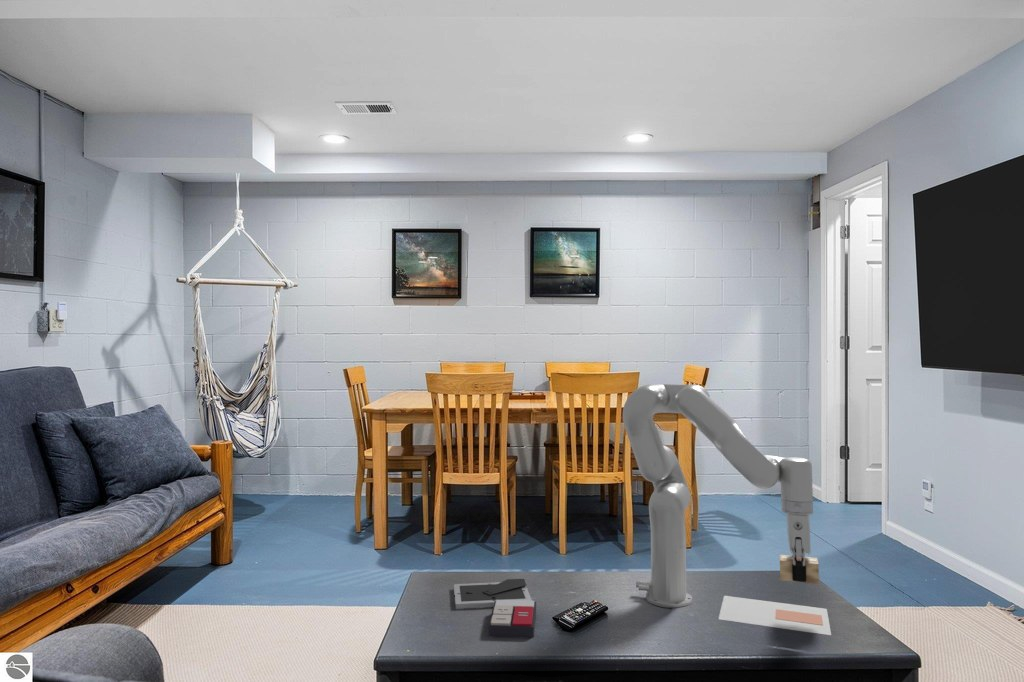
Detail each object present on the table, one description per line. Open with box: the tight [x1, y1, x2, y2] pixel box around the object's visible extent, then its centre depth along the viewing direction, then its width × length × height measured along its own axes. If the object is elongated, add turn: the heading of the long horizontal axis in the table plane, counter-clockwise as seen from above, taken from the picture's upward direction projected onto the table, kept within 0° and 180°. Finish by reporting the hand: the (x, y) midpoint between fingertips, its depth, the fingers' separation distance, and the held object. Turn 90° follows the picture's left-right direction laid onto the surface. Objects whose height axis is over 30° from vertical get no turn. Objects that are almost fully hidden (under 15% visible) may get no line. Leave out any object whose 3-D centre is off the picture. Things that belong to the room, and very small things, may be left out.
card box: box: [779, 554, 820, 585], centre depth 168 cm, size 9×6×5 cm, turn 68°
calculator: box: [488, 600, 537, 639], centre depth 165 cm, size 11×4×15 cm
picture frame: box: [453, 578, 533, 610], centre depth 184 cm, size 16×3×21 cm
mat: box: [718, 595, 832, 636], centre depth 170 cm, size 26×18×1 cm
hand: (799, 576), depth 168 cm, fingers closed on card box, 5 cm apart
